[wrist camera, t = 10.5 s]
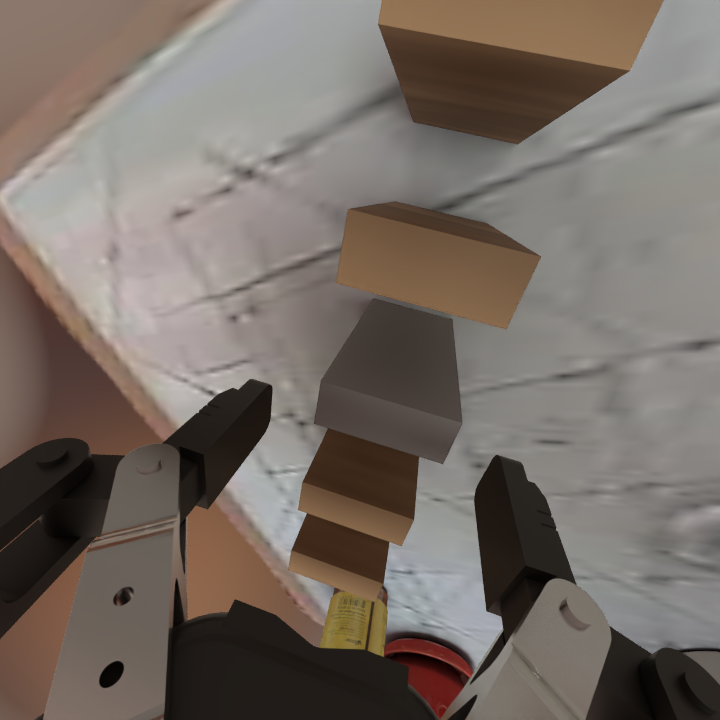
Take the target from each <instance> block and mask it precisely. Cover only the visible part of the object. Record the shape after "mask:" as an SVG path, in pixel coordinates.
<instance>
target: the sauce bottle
mask: <svg viewBox="0 0 720 720" xmlns="http://www.w3.org/2000/svg"><path fill="white" fill-rule="evenodd" d="M387 614H388V611H387V593H386V591H385V590H384V589H383V588H381V590H380V592H379V594H378V596H377V598H376V600H375V602H373V601H370V600H368V599H365V598H362V597H360V596H357V595H354V594H351V593H349V592H346V591H343V590H341V589H338V588H335V590H334V594H333V596H332V598H331V601H330V605H329V609H328V613H327V618H326V622H325V626H324V631H323V635H322V640H321V644H320V648H339V649H365V650H367V651H370V652H372V653H375V654H377V655H380V656H383V657H384V646H385V636H386V625H387Z"/></svg>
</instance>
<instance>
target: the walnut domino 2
mask: <svg viewBox="0 0 720 720" xmlns="http://www.w3.org/2000/svg"><path fill="white" fill-rule="evenodd" d="M388 549H389V542H388V541H385V540H383V539H380V538H377V537H374V536H371V535H368V534H365V533H363V532H360V531H357V530H354V529H351V528H348V527H345V526H343V525H340V524H337V523H334V522H331V521H328V520H325V519H323V518H320V517H317V516H314V515H311V514H308V513H307V514H306V517H305V519H304V522H303V524H302V526H301V529H300V531H299V534H298V536H297V538H296V541H295V543H294V546H293V548H292V550H291V556H290V562H289V568H288V570H289V571H292V572H295V573H297V574H300V575H303V576H305V577H308V578H311V579H314V580H316V581H319V582H322V583H324V584H327V585H330V586H332V587H335V588H338V589H341V590H343V591H346V592H349V593H351V594H354V595H357V596H360V597H362V598H365V599H368V600H370V601H373V602H375V600H376V598H377V596H378V594H379V592H380V590H381V588H382V586H383V583H384V576H385V569H386V562H387V555H388Z"/></svg>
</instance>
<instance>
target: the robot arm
mask: <svg viewBox="0 0 720 720" xmlns="http://www.w3.org/2000/svg"><path fill="white" fill-rule="evenodd" d="M271 404H272V385H270V384H267V383H263V382H260V381H257V380H254V379H250V380H248V381H247V382H246V383H245V384H244V385H243V386H242V387H241V388H240V389H239V390H237V389H234V388H231V389H229V390H227V391H224V392H222V393H220V394H218V395H217V396H216V397H214V398H213V399H212V400H211V401H210V402H209V403H208V405H205V406H204V407H203V408H202V409H201V410H200V411H199V413H196V414H195V415H194V416H193V417H192V418H191V419H189V420H188V421H187V422H186V423H185V424H184V425H183V426H182V427H180V428H179V429H178V430H177V431H176V432H175V433H174V434H172V435H171V436H170V437H169V438H168V439H167V440H166V441H164V442H163V443H162V444H161V443H159V444H158V443H157V444H149V445H145V446H141V447H139V448H137V449H135V450H133V451H131V452H130V453H128V454H127V455H126V456H121V455H119V456H118V455H97V454H91V452H90V449H89V447H88V444H87V443H86V442H84V441H82V440H80V439H76V438H63V439H56V440H51V441H48V442H45V443H42V444H40V445H38V446H35V447H33V448H32V449H30V450H28V451H27V452H25V453H24V454H22V455H21V456H19V457H18V458H16V459H14V460H13V461H12V462H10V463H8V464H7V465H6V466H4V467H2V468H1V469H0V550H1V549H2V548H4V547H5V546H6V545H7V544H8V543H10V542H11V541H12V540H13V539H14V538H15V537H17V536H18V535H19V534H20V533H21V532H22V531H24V530H25V529H26V528H27V527H28V526H29V525H31V524H32V523H33V522H34V521H35V520H36V519H38V520H37V521H36V522H35V523H34V524H32V525H31V526H30V527H29V528H28V529H27V530H26V531H24V532H23V533H22V534H21V535H20V536H19V537H17V538H16V539H15V540H14V541H13V542H12V543H10V544H9V545H8V546H7V547H6V548H4V549H3V550H2V551H1V552H0V639H1V637H2V636H3V635H4V634H5V633H6V632H7V631H8V630H9V629H10V628H11V627H12V626H13V625H14V624H15V622H17V620H18V619H19V618H20V617H21V616H22V615H23V614H24V613H25V612H26V611H27V610H28V609H29V608H30V607H31V606H32V605H33V603H34V602H35V601H36V600H37V599H38V598H39V597H40V596H41V595H42V594H43V593H44V592H45V591H46V590H47V588H49V586H50V585H51V584H52V583H53V582H54V581H55V580H56V579H57V578H58V577H59V576H60V575H61V574H62V572H64V571H65V569H66V568H67V567H68V566H69V565H70V564H71V563H72V562H73V561H74V560H75V559H76V558H77V557H78V556H79V554H81V552H82V551H83V550H84V549H85V548H86V547H87V546H88V545H89V544H90V543H91V542H92V541H93V540H94V538H96V537H100V539H99V540H95V541H93V542H92V543H91V544H90V546H89V547H88V550H87V553H86V556H85V559H84V564H83V567H82V571H81V575H80V579H79V583H78V586H77V590H76V594H75V598H74V602H73V605H72V609H71V613H70V617H69V621H68V625H67V629H66V632H65V636H64V640H63V644H62V648H61V652H60V655H59V659H58V663H57V667H56V671H55V675H54V679H53V682H52V686H51V690H50V694H49V697H48V701H47V706H46V709H45V713H44V714H42V715H41V716H39V717H38V718H36V719H35V720H439V718H438V717H437V715H436V714H435V712H434V711H433V709H432V708H431V707H430V706H429V704H428V703H427V702H426V701H425V699H424V698H423V697H422V696H421V695H420V694H419V693H418V692H417V691H416V690H415V689H414V688H413V687H412V686H411V685H409V684H408V674H409V667H408V666H406V665H403V664H401V663H398V662H395V661H393V660H390V659H388V658H385V657H383V656H380V655H377V654H375V653H372V652H370V651H367V650H365V649H339V648H318V647H315V646H313V645H311V644H310V643H309V642H308V641H306V640H305V639H304V638H303V637H302V636H300V635H299V634H298V633H297V632H296V631H294V630H293V629H292V628H291V627H290V626H288V625H287V624H286V623H285V622H284V621H282V620H281V619H280V618H279V617H277V616H276V615H274V614H272V613H269V612H267V611H264V610H261V609H259V608H256V607H253V606H251V605H249V604H246V603H243V602H241V601H238V600H234V602H233V605H232V606H231V608H230V610H229V612H220V613H212V614H207V615H203V616H199V617H196V618H193V619H191V620H188V599H187V521H188V519H187V516H188V514H189V513H190V512H191V511H192V509H193V508H194V507H195V506H196V505H197V506H199V507H202V508H205V509H208V508H209V507H210V506H211V504H212V503H213V502H214V500H215V499H216V498H217V496H218V495H219V494H220V492H221V491H222V490H223V488H224V487H225V486H226V484H227V483H228V482H229V480H230V479H231V478H232V476H233V475H234V474H235V472H236V471H237V470H238V468H239V467H240V466H241V464H242V463H243V462H244V460H245V459H246V458H247V456H248V455H249V454H250V452H251V451H252V450H253V448H254V447H255V446H256V444H257V443H258V442H259V440H260V439H261V438H262V436H263V435H264V434H265V432H266V430H267V428H268V425H269V422H270V418H271ZM474 504H475V513H476V522H477V531H478V540H479V548H480V557H481V566H482V575H483V584H484V593H485V602H486V611H487V612H490V613H493V614H496V615H499V616H501V617H502V622H503V629H502V630H501V631H500V633H499V634H498V636H497V637H496V639H495V640H494V642H493V643H492V645H491V646H490V648H489V649H488V651H487V653H486V654H485V656H484V657H483V659H482V660H481V662H480V663H479V665H478V666H477V668H476V670H475V671H474V673H473V674H472V676H471V677H470V679H469V680H468V682H467V683H466V685H465V686H464V688H463V689H462V691H461V692H460V693H459V695H458V696H457V697H456V699H455V700H454V701H453V702H452V703H451V705H450V706H449V707H448V709H447V710H446V712H445V713H444V714H443V716H442V717H441V719H440V720H720V652H715V651H695V652H684V653H682V652H680V651H677V650H675V649H672V648H662V649H660V650H658V651H657V652H655V653H653V654H651V653H649V652H648V651H646V650H645V649H643V648H642V647H640V646H639V645H637V644H636V643H634V642H633V641H631V640H629V639H628V638H626V637H625V636H623V635H622V634H620V633H619V632H617V631H616V630H614V629H613V628H612V627H610V626H609V624H608V622H607V620H606V618H605V616H604V614H603V612H602V611H601V609H600V608H599V606H598V605H597V604H596V602H595V601H594V600H593V599H592V598H591V597H590V596H589V595H588V594H587V593H586V592H585V591H584V590H582V589H581V588H580V587H578V586H577V585H576V582H575V579H574V577H573V574H572V571H571V568H570V565H569V562H568V560H567V557H566V554H565V551H564V548H563V545H562V543H561V540H560V537H559V534H558V531H556V526H555V523H554V520H553V518H552V517H551V515H552V514H551V511H550V509H549V506H548V503H547V500H546V498H545V497H544V495H543V494H542V493H541V491H540V490H539V488H538V487H537V486H536V484H535V483H533V482H529V481H528V480H527V477H526V474H525V470H524V467H523V465H522V463H521V462H518V461H515V460H512V459H509V458H505V457H502V456H499V455H496V456H495V457H494V458H493V459H492V461H491V463H490V464H489V466H488V468H487V470H486V471H485V473H484V475H483V477H482V478H481V480H480V482H479V484H478V486H477V488H476V492H475V499H474Z"/></svg>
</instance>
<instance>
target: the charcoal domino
mask: <svg viewBox="0 0 720 720" xmlns="http://www.w3.org/2000/svg"><path fill="white" fill-rule="evenodd" d="M314 424H317V425H320V426H323V427H326V428H330V429H333V430H336V431H339V432H342V433H346V434H349V435H352V436H355V437H358V438H361V439H365V440H368V441H371V442H374V443H377V444H381V445H384V446H387V447H390V448H393V449H397V450H400V451H403V452H406V453H409V454H413V455H416V456H419V457H422V458H425V459H428V460H432V461H435V462H438V463H441V464H443V463H444V461H445V459H446V457H447V455H448V453H449V450H450V448H451V446H452V444H453V442H454V440H455V438H456V436H457V434H458V432H459V429H460V427H461V425H462V414H461V403H460V393H459V383H458V372H457V362H456V352H455V341H454V331H453V321H452V319H448V318H444V317H440V316H437V315H433V314H429V313H425V312H422V311H418V310H414V309H410V308H406V307H403V306H399V305H395V304H391V303H388V302H384V301H380V300H376V299H373V300H372V302H371V303H370V305H369V307H368V308H367V310H366V311H365V313H364V314H363V316H362V318H361V319H360V321H359V322H358V324H357V325H356V327H355V328H354V330H353V332H352V333H351V335H350V336H349V338H348V339H347V341H346V343H345V344H344V346H343V347H342V349H341V350H340V352H339V353H338V355H337V357H336V358H335V360H334V361H333V363H332V364H331V366H330V368H329V369H328V371H327V372H326V374H325V375H324V377H323V378H322V380H321V383H320V390H319V396H318V402H317V409H316V415H315V421H314Z"/></svg>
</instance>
